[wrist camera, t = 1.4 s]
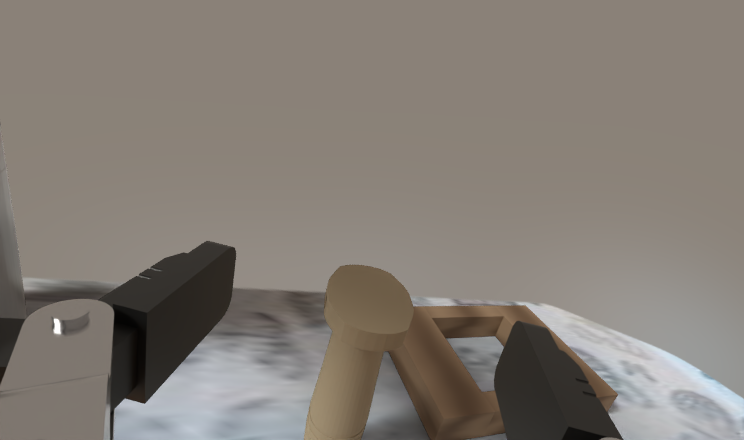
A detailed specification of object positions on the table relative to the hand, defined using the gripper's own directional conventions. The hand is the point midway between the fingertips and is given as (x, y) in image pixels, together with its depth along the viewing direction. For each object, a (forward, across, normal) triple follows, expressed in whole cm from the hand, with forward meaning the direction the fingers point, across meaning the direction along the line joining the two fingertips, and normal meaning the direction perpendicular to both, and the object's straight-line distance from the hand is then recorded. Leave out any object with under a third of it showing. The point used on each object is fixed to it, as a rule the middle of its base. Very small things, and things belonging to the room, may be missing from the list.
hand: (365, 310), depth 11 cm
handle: (+11, 0, +20) cm, 23 cm away
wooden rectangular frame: (+26, -14, +20) cm, 35 cm away
